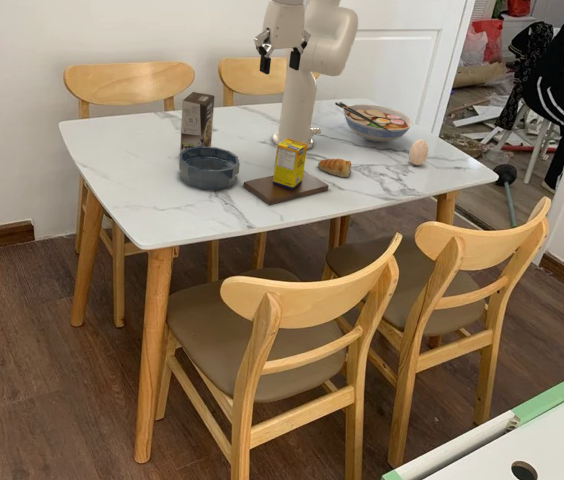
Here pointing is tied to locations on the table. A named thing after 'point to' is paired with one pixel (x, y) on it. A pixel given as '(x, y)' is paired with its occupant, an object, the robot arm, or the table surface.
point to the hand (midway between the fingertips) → (279, 70)
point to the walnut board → (278, 193)
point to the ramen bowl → (376, 121)
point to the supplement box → (289, 163)
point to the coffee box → (197, 121)
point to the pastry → (335, 167)
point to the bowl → (208, 167)
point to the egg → (418, 152)
